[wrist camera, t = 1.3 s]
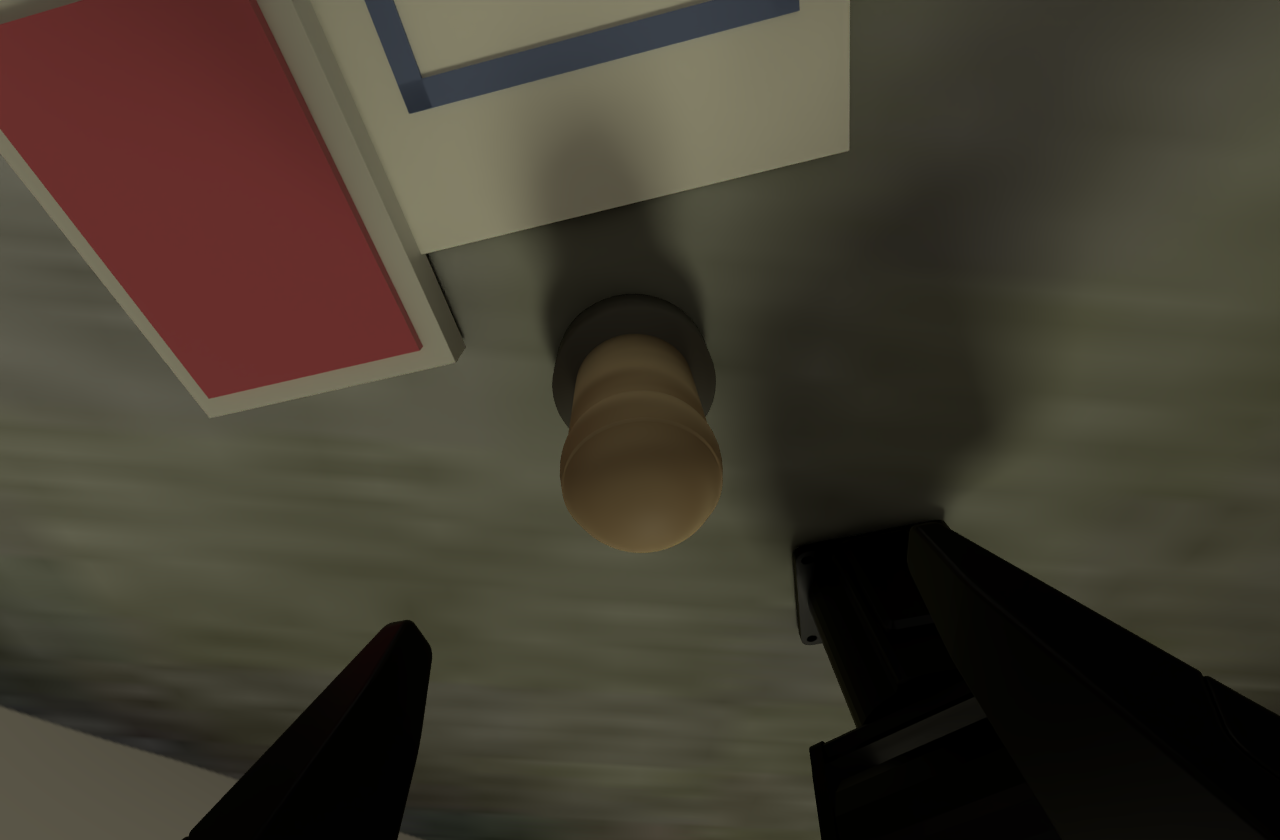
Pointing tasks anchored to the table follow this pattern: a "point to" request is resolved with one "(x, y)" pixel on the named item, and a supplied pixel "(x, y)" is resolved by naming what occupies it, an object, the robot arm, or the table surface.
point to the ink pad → (221, 192)
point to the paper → (584, 100)
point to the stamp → (637, 424)
